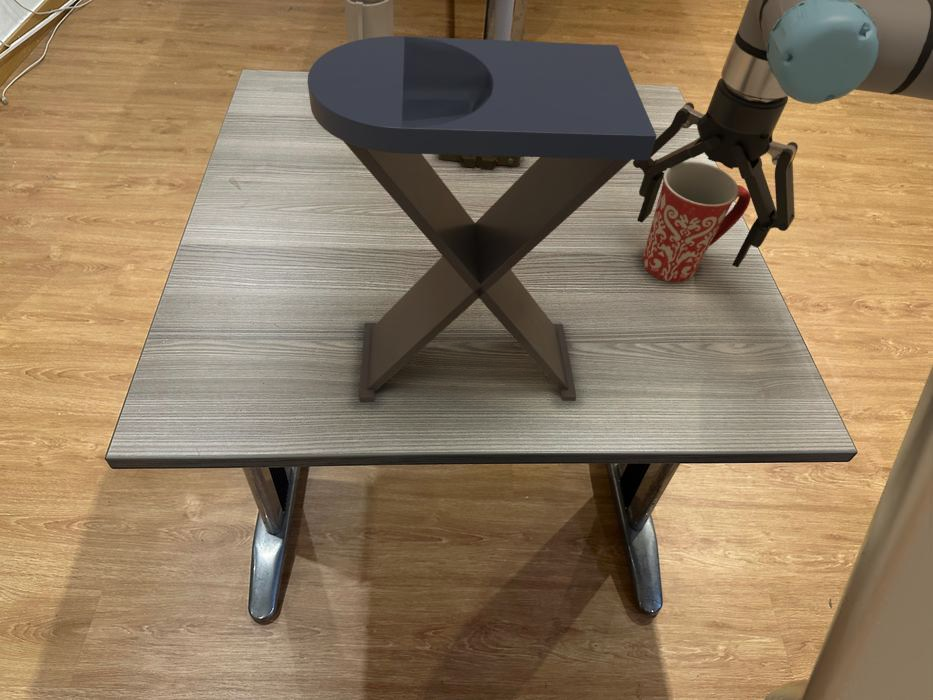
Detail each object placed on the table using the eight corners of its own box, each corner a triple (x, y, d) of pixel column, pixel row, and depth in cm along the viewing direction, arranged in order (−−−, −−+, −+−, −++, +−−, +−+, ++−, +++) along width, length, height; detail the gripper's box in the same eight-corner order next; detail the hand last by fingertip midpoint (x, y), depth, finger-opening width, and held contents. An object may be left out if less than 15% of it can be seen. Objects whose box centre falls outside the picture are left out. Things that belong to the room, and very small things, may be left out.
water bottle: (358, 104, 110) (347, -61, 91) (403, 111, 110) (401, -53, 91) (341, 132, 104) (325, -38, 85) (388, 140, 104) (382, -30, 85)
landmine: (433, 149, 98) (442, 100, 108) (433, 164, 100) (441, 114, 110) (525, 158, 98) (525, 107, 108) (523, 173, 100) (523, 122, 110)
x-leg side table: (559, 320, 81) (629, 45, 55) (577, 413, 72) (670, 136, 46) (349, 319, 79) (317, 32, 52) (340, 414, 70) (296, 124, 43)
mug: (651, 292, 85) (684, 208, 74) (624, 247, 90) (652, 163, 80) (736, 281, 87) (780, 198, 77) (705, 237, 93) (742, 155, 82)
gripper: (881, 113, 67) (790, 264, 83) (663, 36, 76) (619, 187, 92) (863, 144, 63) (771, 296, 79) (635, 59, 71) (594, 212, 88)
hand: (689, 238), depth 86 cm, fingers open, 13 cm apart
